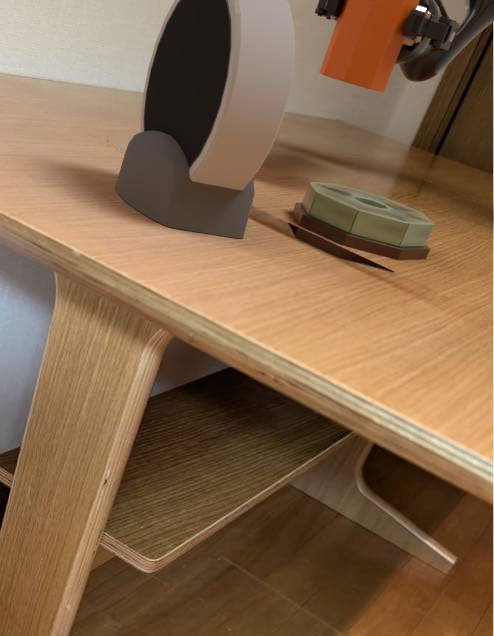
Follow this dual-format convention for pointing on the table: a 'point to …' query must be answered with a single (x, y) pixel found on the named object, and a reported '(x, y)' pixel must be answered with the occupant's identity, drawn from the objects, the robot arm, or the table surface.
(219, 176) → the alarm clock
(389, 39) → the orange octagonal prism
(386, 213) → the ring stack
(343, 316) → the table surface
